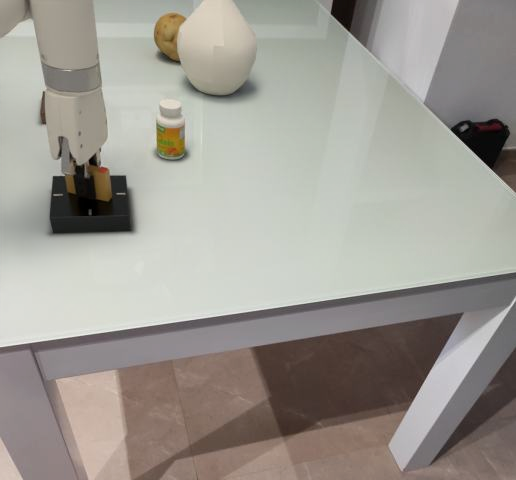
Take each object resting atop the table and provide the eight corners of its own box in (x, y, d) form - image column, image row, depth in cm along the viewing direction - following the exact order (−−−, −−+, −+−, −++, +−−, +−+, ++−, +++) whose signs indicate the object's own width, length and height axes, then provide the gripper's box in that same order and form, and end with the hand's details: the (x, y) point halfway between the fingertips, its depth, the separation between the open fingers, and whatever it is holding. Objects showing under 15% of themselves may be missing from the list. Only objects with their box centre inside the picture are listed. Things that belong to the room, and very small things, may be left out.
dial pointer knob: (67, 192, 83) (62, 162, 79) (72, 187, 84) (67, 157, 80) (108, 202, 83) (104, 172, 79) (112, 197, 84) (109, 167, 80)
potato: (188, 48, 139) (189, 6, 132) (197, 67, 132) (199, 23, 124) (151, 47, 137) (149, 4, 129) (157, 66, 129) (156, 21, 122)
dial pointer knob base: (52, 233, 80) (49, 216, 78) (55, 191, 88) (52, 174, 86) (131, 231, 83) (129, 214, 81) (127, 190, 91) (126, 174, 88)
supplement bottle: (152, 155, 100) (150, 105, 92) (164, 144, 103) (163, 94, 96) (177, 163, 99) (177, 113, 92) (189, 151, 102) (189, 102, 95)
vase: (266, 88, 127) (284, -61, 105) (223, 111, 116) (234, -51, 94) (207, 66, 133) (213, -81, 111) (161, 85, 122) (157, -74, 100)
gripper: (73, 49, 75) (89, 165, 89) (15, 89, 65) (43, 213, 78) (122, 60, 75) (130, 175, 88) (70, 102, 64) (89, 225, 78)
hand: (89, 192), depth 83 cm, fingers closed on dial pointer knob
